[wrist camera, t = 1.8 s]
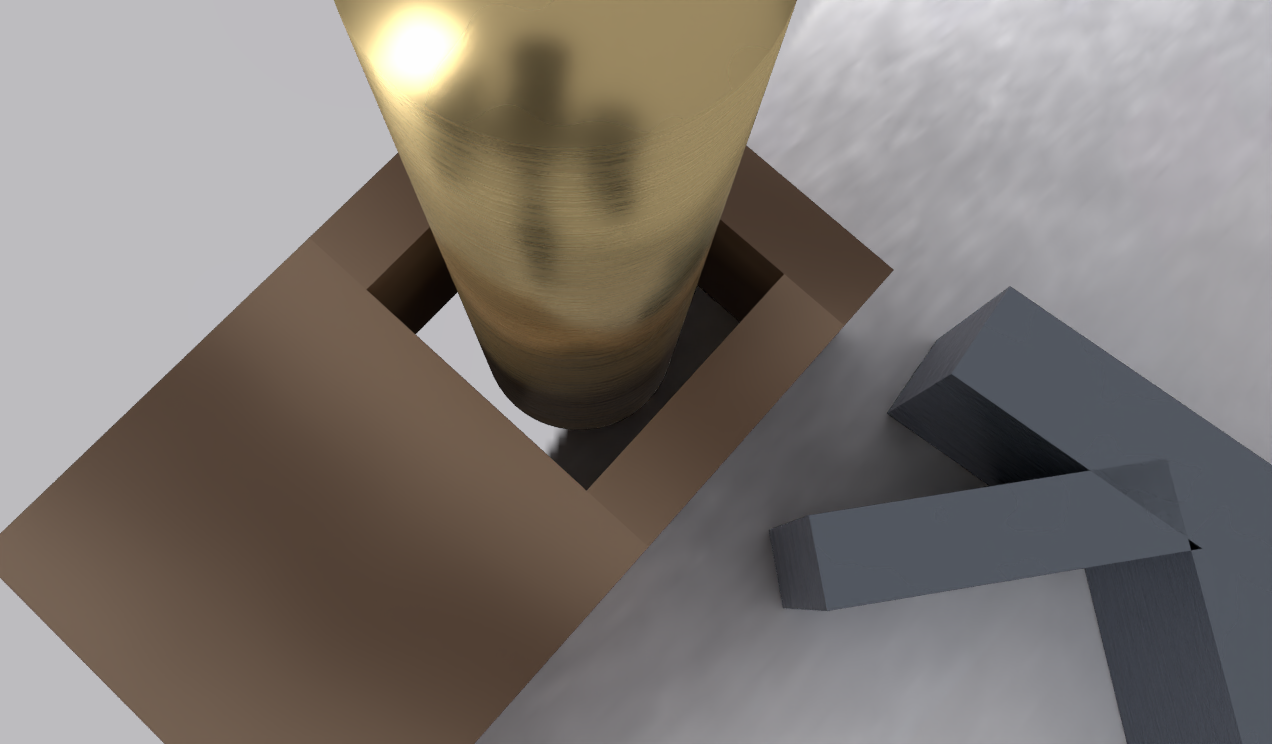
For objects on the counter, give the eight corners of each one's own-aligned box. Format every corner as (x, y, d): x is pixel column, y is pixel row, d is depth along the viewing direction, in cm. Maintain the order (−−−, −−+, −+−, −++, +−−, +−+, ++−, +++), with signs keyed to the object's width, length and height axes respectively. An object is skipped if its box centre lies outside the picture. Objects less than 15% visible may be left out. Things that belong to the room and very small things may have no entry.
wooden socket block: (378, 847, 20) (327, 909, 16) (92, 563, 21) (-23, 555, 17) (840, 326, 22) (893, 269, 19) (569, 93, 23) (565, -8, 19)
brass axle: (585, 469, 22) (581, 248, 8) (446, 342, 22) (215, -74, 8) (711, 332, 22) (905, -87, 9) (574, 212, 23) (553, -365, 9)
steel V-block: (1211, 922, 20) (1360, 1000, 16) (737, 575, 21) (771, 570, 17) (1364, 637, 22) (1536, 645, 18) (911, 322, 23) (979, 264, 19)
